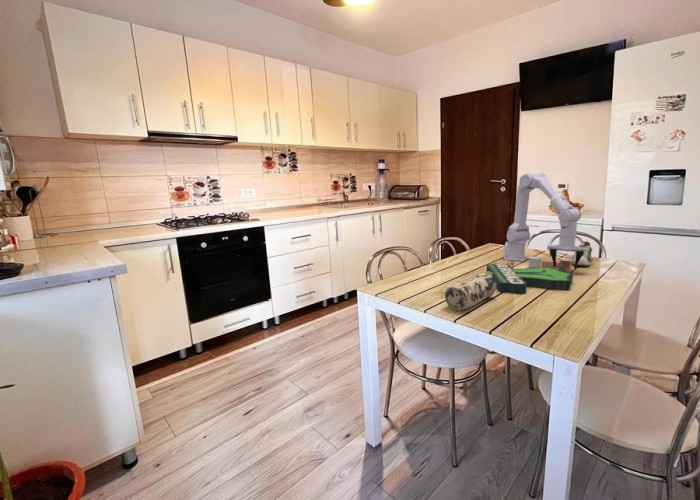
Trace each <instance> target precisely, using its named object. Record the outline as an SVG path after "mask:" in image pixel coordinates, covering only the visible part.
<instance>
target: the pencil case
mask: <svg viewBox="0 0 700 500" xmlns="http://www.w3.org/2000/svg"><path fill="white" fill-rule="evenodd" d="M486 271H487V270H486ZM492 274H493V273H492V272H489V271H487V272H486V273H479V274H478V273H477V274H476V276H475V277H474V278H471V279H468V280H465V281H462V282H460V283H458V284H456V285H454V284H453V285H451V286H448V287H447V288H446V289H445V291H444V300H445V303H446V304H447V306H448V307H449V308H450V309H452V310H454V311H462V310H467V309H469V308H471V307H474V306H475V305H477V304H479V303H480V302H482V301H483V300H485V299H487V298H489V297H491V296H493V295H494V294H495V293H496V290H497V288H496V281H495V280H494V279H493V278H492Z"/></svg>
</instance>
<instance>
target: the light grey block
mask: <svg viewBox="0 0 700 500" xmlns="http://www.w3.org/2000/svg"><path fill="white" fill-rule="evenodd" d="M528 259H529V261H528V268H534V267H540V266H541V256H540V257H539V256H530V257H529V258H528Z"/></svg>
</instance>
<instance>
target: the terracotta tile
mask: <svg viewBox="0 0 700 500" xmlns="http://www.w3.org/2000/svg"><path fill="white" fill-rule="evenodd" d="M560 260H562V259H559V258H556V266H555V267H553V260H552V257H550V258H549V257H544V258H543V259H542V260H541V267H551V268H554V269H559V262H560Z"/></svg>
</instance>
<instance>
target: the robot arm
mask: <svg viewBox="0 0 700 500" xmlns="http://www.w3.org/2000/svg"><path fill="white" fill-rule="evenodd" d="M518 183H519V184H518V186H517V193H516V202H515V210H514V219H513V223H512V224H511V225H509V226H508V230H507V233H506V239H507V241H505V244H504V248H503V249H504V253H503V260H505V261H515V262H525V261H526V259H527V257H526V256H525V255H526V254H525V253H526V243H527V241H529V239H530V237H531V233H530V226H529V225H528V224H527V218H528V209H529V202H530V194H531V192H532V191H533V190H535V189H539V190H541V192H542V193H543V194H544V195H545V196H546V197H547V198H548V199H549V200H550V201H549V204H550V206H551V208H553V209H554V210H555V212H556V213H557V214H558V216H557V217H558V220H559V222H560V223H559V225H560V230H559V231H560V232H559V244H558V245H556V244H554V245H553V244H547V246H546V251H549V255H550V256H551V257H550V258H551V259H552V260H553V267H555V266H556V259H557V253H558V251H561V252H571V253H572V252H574V253H575V252H576V261H575V265H573V266H574V267H573V268H574V269H575V270H576V269H577V268H578V267H577V266H578V265H577V264H578V262H579V260H580V258H581V257H582V256H583V253H587V248H584V247H578V246H576V235H577V227H578V222H579V221H580V220H581V218H582V212H581V210H580V209H579V208H577V207H574V206H573V204H571V203H570V202H568V201H569V200H567V197H566V196H563V195H561V194H560V195H559V194H558V193H557V192H556V189H554V187H553V186H552V184H551V183H550V182H549V177H548V176H546V174H545V173H544V172H532V173H530V172H529V173H527V172H526V173H524V174H522V175H521V176H520V177H519V181H518Z"/></svg>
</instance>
